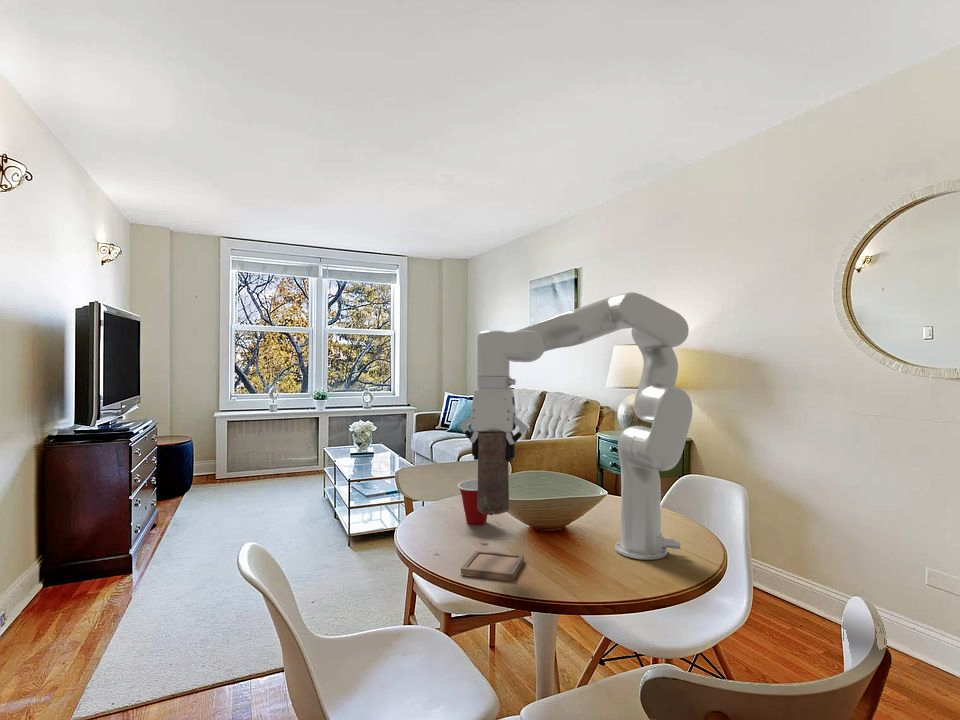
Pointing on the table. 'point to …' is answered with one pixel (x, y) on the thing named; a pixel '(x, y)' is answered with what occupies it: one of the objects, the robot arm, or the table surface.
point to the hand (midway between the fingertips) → (493, 459)
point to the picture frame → (493, 565)
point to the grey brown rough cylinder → (492, 473)
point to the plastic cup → (471, 502)
